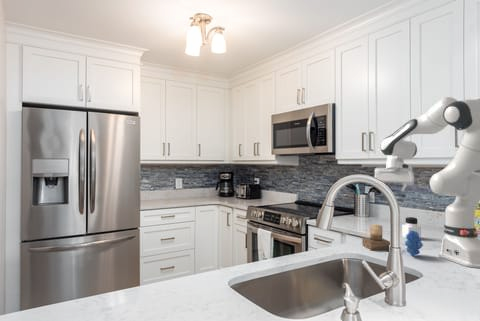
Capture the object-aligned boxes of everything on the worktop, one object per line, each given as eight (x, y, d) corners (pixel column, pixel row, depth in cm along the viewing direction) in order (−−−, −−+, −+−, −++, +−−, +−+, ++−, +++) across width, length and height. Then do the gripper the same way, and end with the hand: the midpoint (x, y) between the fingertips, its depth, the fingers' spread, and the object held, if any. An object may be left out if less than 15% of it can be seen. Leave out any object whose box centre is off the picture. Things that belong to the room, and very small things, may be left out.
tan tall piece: (384, 249, 156) (384, 227, 156) (373, 249, 156) (373, 227, 156) (379, 246, 162) (379, 224, 162) (368, 246, 161) (368, 224, 162)
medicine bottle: (421, 239, 178) (421, 218, 178) (408, 239, 178) (408, 218, 178) (414, 237, 185) (414, 216, 185) (402, 236, 185) (402, 216, 185)
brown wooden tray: (391, 250, 154) (391, 242, 154) (371, 250, 153) (371, 242, 153) (381, 245, 164) (381, 237, 164) (362, 245, 163) (362, 237, 163)
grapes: (416, 260, 138) (416, 233, 138) (401, 256, 143) (401, 230, 144) (429, 256, 144) (429, 230, 145) (414, 253, 150) (414, 227, 150)
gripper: (373, 164, 181) (371, 188, 178) (414, 165, 169) (412, 190, 166) (376, 167, 186) (374, 190, 183) (415, 168, 174) (414, 193, 171)
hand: (393, 190), depth 174 cm, fingers open, 8 cm apart
